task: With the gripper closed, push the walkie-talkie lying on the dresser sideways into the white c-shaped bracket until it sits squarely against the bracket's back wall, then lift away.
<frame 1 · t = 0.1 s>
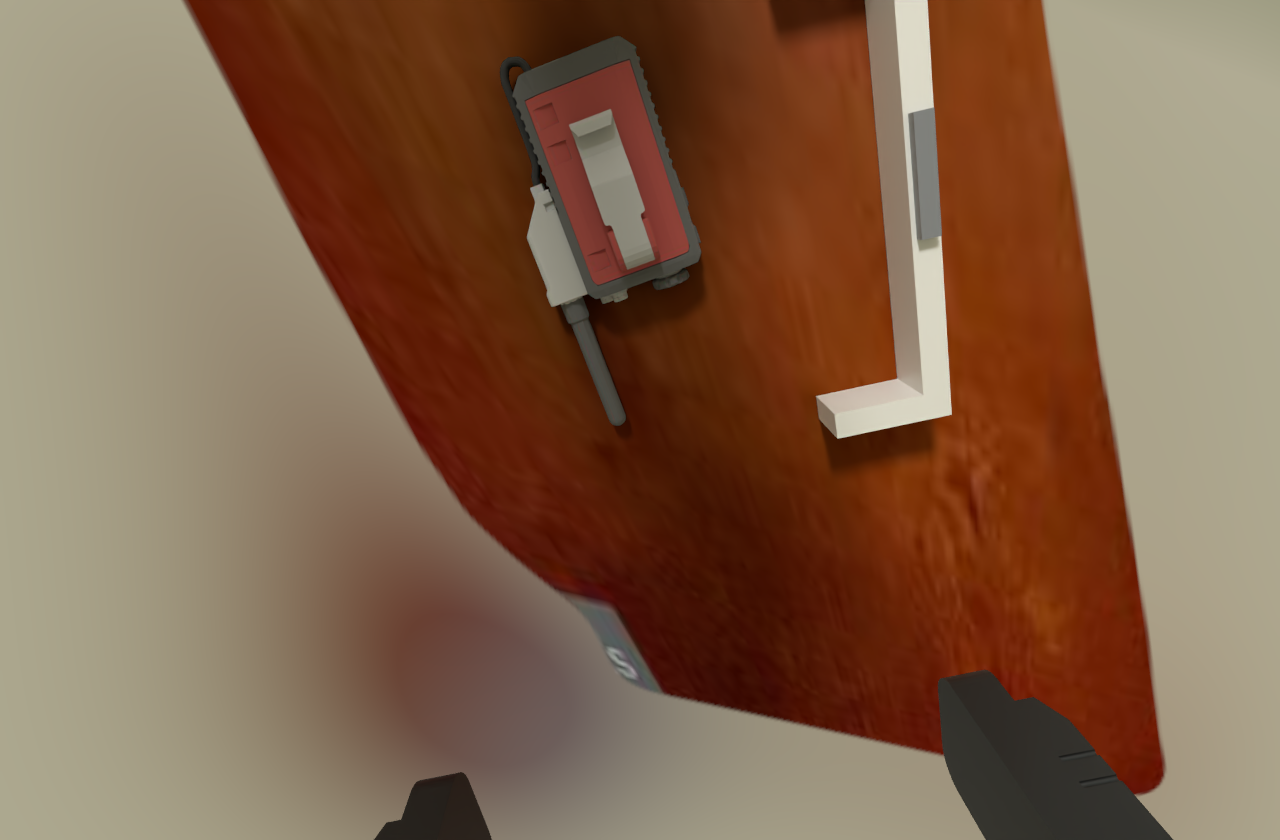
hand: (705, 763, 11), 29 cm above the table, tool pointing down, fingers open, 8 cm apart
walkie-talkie: (613, 240, 37), on the table
white c-shaped bracket: (835, 191, 36), on the table
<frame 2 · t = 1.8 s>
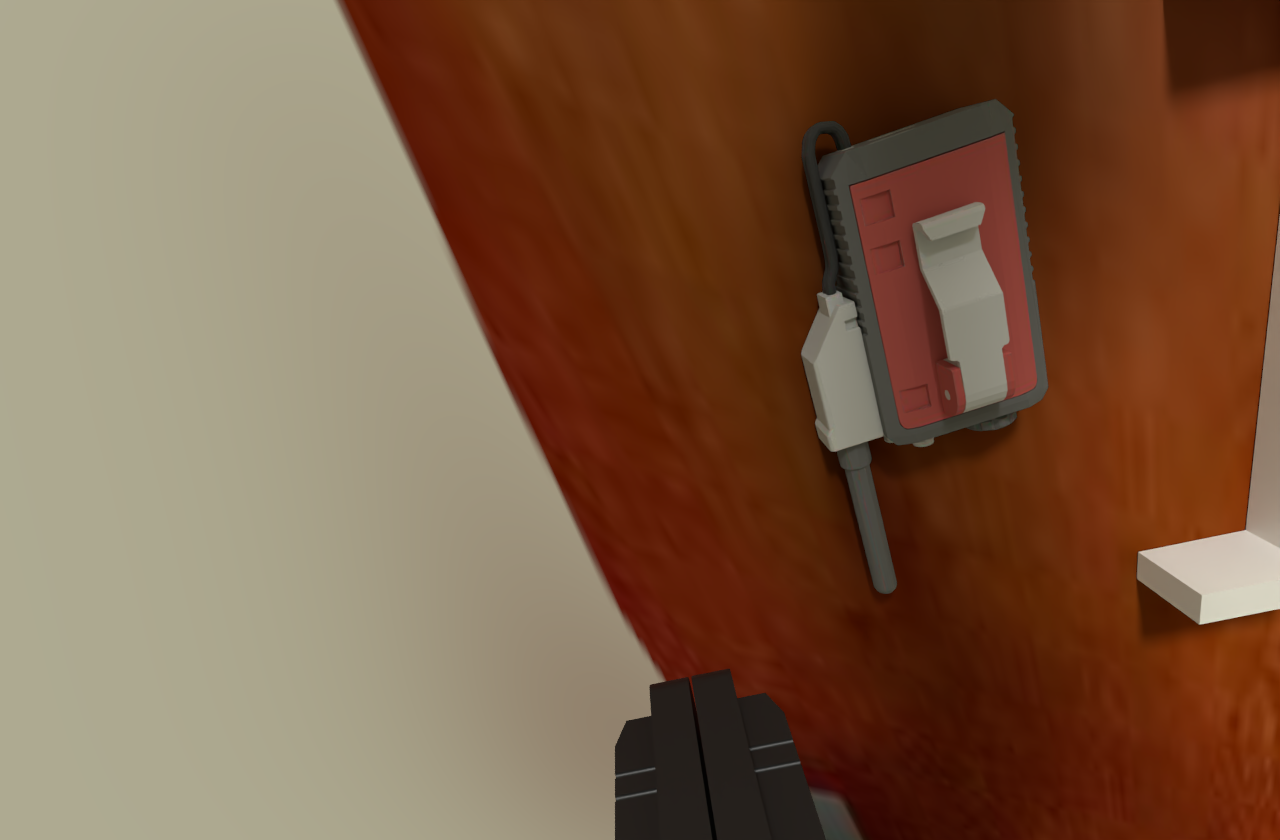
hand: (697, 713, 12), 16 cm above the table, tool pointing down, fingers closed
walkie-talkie: (902, 357, 28), on the table
white c-shaped bracket: (1210, 299, 27), on the table
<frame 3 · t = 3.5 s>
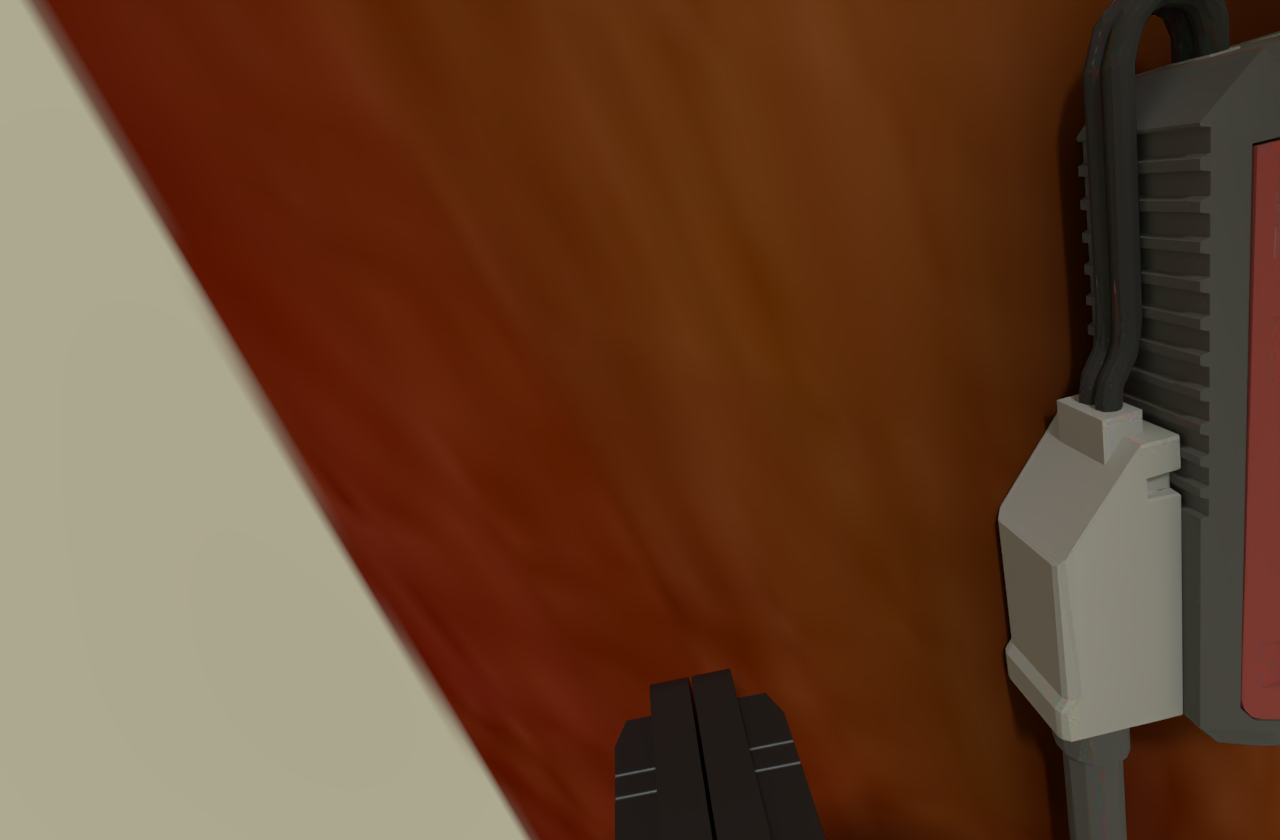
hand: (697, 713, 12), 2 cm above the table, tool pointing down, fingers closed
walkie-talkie: (1189, 522, 13), on the table
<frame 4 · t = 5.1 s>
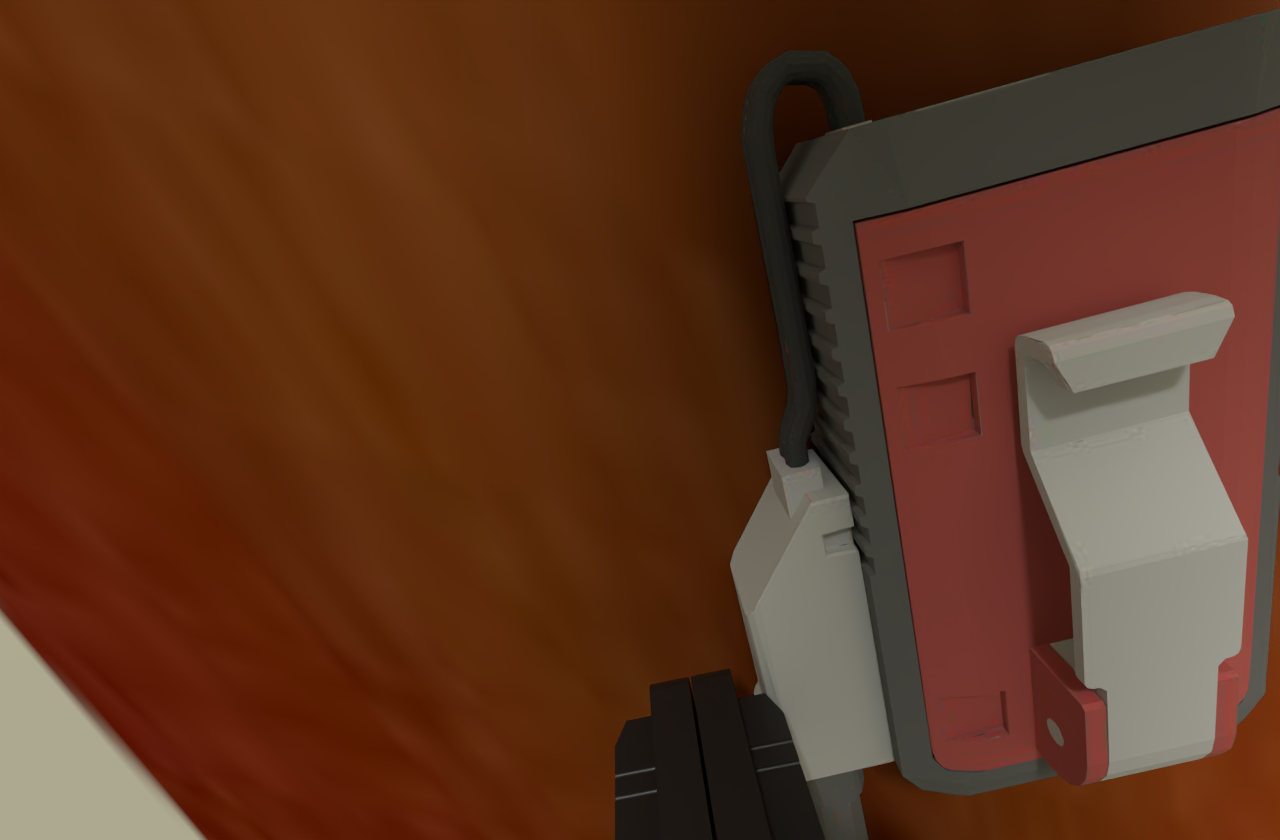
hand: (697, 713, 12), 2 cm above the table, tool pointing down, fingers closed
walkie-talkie: (937, 567, 14), on the table
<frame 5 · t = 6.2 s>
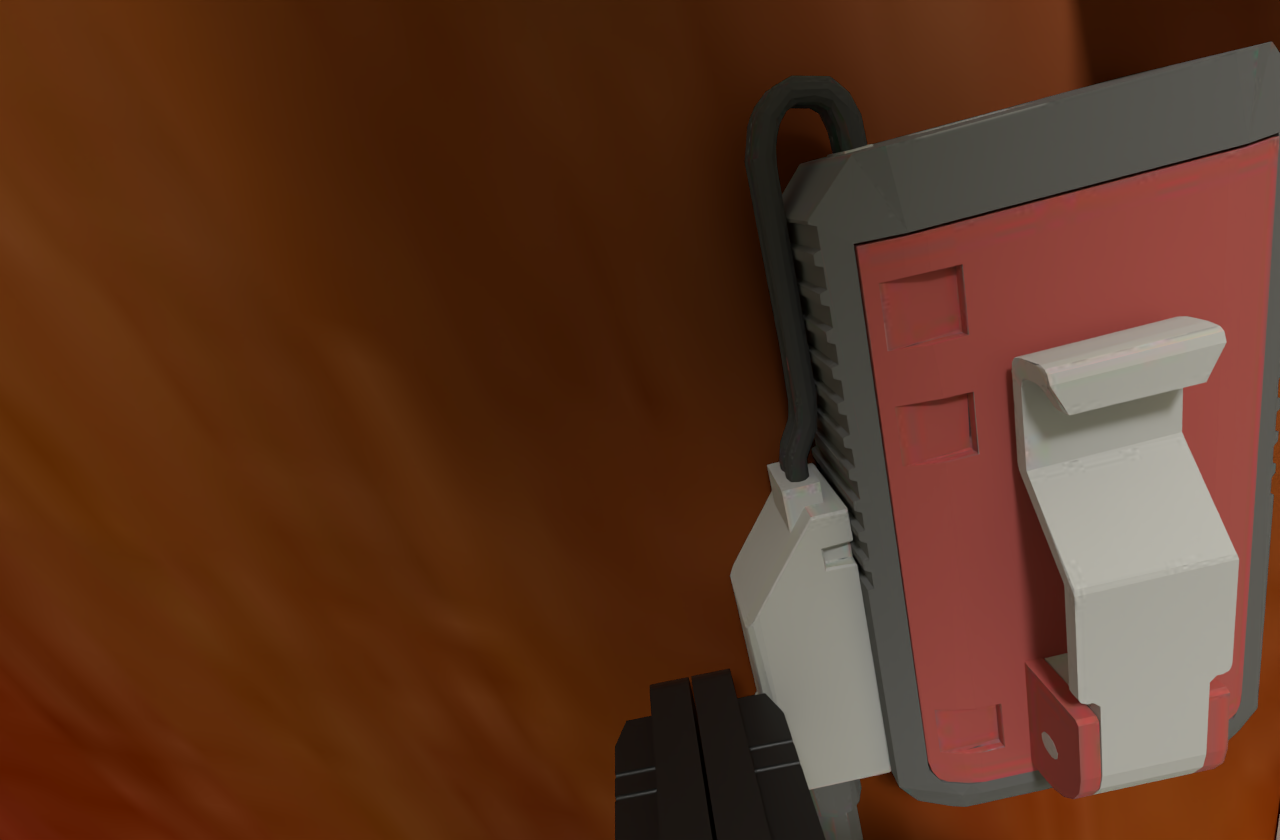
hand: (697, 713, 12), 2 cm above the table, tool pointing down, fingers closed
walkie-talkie: (935, 579, 14), on the table, touching gripper
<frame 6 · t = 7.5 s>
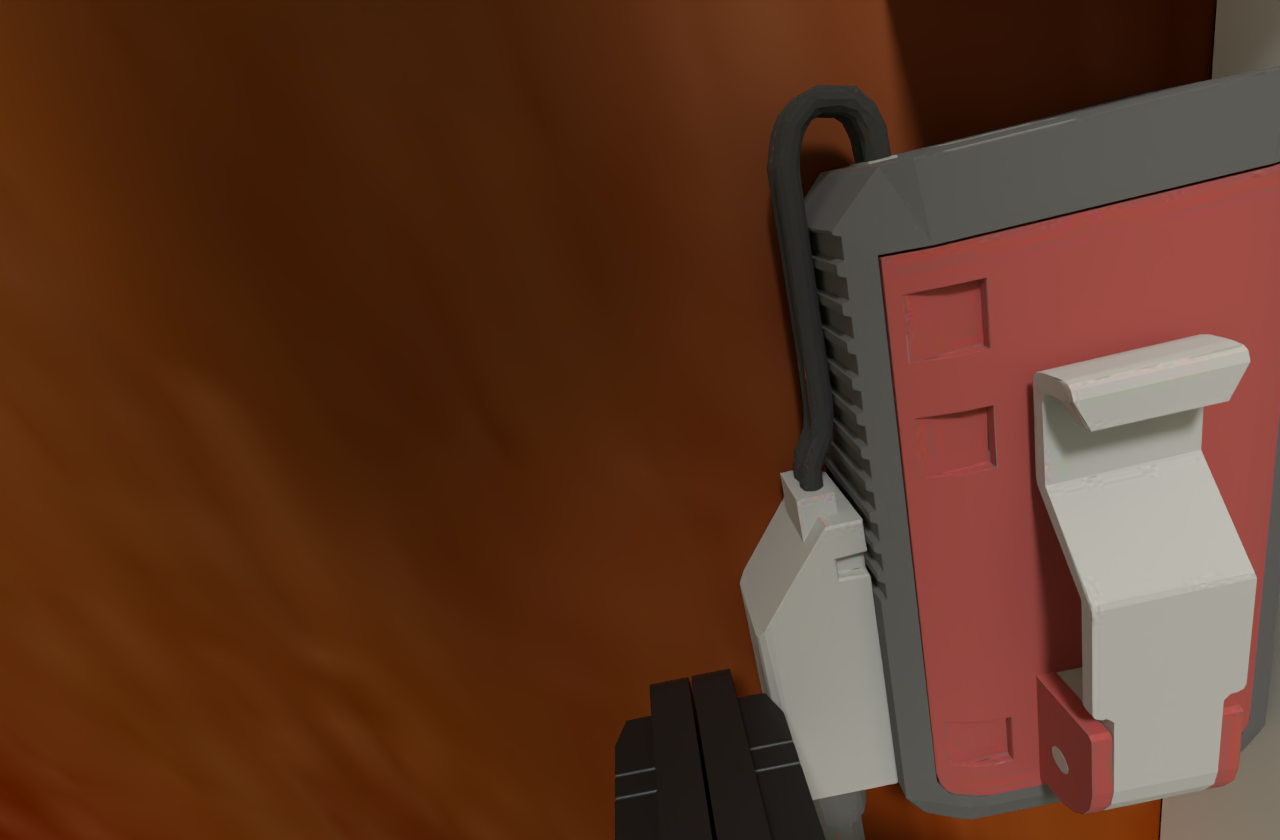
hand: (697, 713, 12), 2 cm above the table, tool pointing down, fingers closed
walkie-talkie: (943, 590, 14), on the table
white c-shaped bracket: (1053, 584, 13), on the table
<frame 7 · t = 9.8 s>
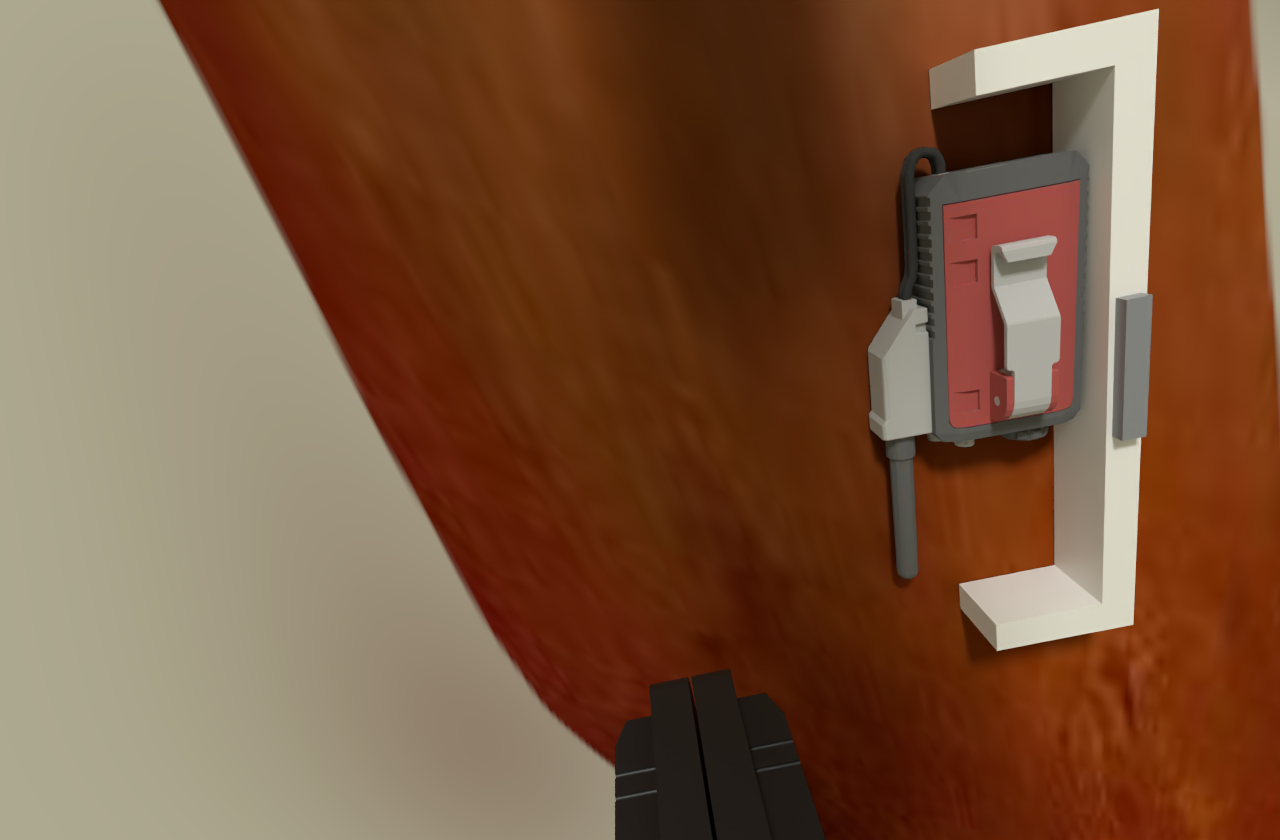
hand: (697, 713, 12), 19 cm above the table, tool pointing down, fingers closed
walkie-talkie: (952, 367, 31), on the table
white c-shaped bracket: (999, 363, 30), on the table
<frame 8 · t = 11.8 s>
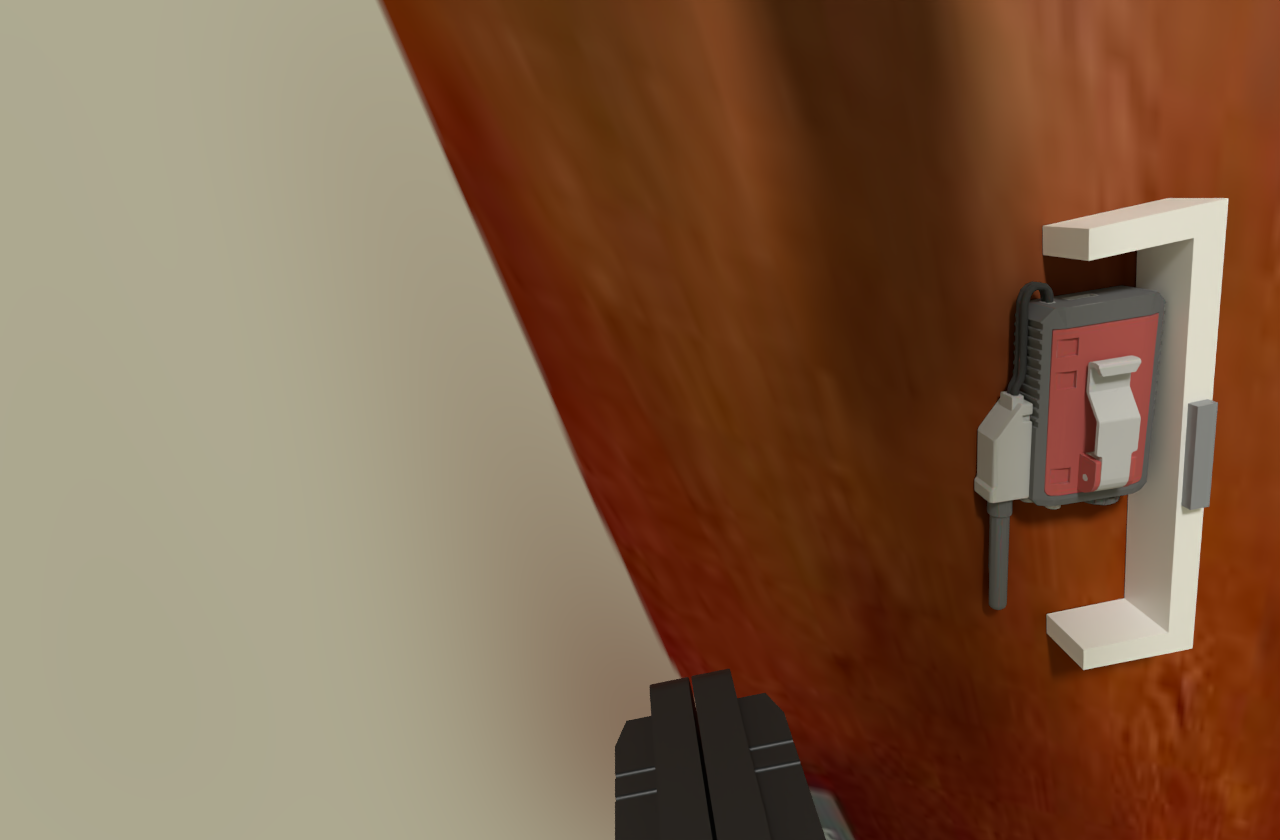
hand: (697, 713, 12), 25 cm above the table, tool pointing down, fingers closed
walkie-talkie: (1041, 442, 38), on the table
white c-shaped bracket: (1087, 443, 38), on the table
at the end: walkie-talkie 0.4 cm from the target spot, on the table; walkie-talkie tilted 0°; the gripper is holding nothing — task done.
